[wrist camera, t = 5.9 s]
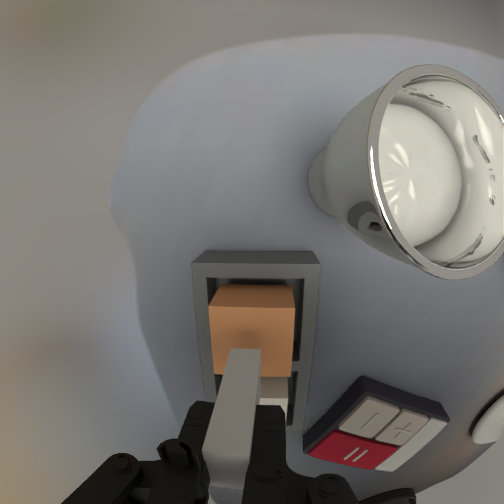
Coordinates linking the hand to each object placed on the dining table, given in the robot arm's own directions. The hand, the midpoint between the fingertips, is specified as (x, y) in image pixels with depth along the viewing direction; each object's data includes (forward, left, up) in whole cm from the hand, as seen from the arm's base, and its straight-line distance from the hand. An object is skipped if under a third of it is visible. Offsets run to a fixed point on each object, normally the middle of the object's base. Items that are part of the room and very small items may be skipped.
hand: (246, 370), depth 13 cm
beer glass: (+10, -7, -10) cm, 16 cm away
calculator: (-17, -14, -11) cm, 24 cm away
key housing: (-4, 0, -10) cm, 11 cm away
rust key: (0, 0, -7) cm, 7 cm away
